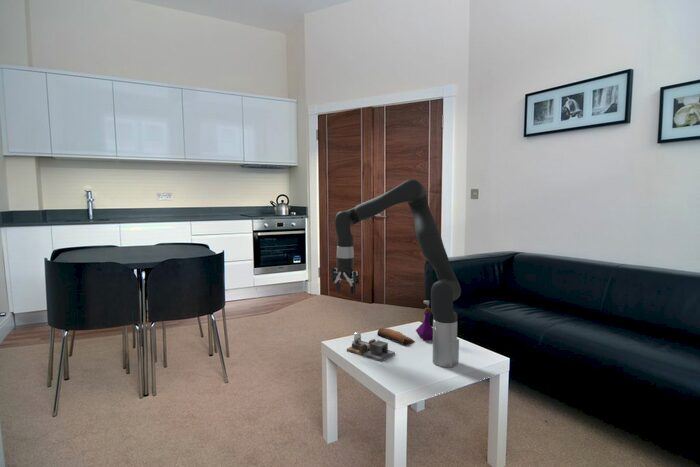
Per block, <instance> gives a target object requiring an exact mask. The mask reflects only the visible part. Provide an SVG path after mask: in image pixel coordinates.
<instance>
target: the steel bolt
mask: <svg viewBox="0 0 700 467" xmlns="http://www.w3.org/2000/svg"><path fill="white" fill-rule="evenodd" d="M361 341H362V332H361V331H355V332H353V341H352V343H356V344H359V345H361V344H363V343H364V342H365V341H364V342H361ZM352 343H351V344H352ZM364 344H366V350H368V349H370V344H367V343H364Z"/></svg>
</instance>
